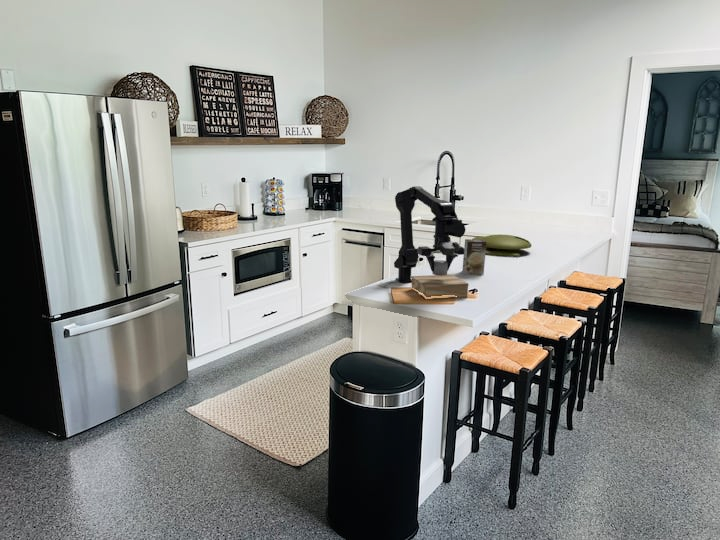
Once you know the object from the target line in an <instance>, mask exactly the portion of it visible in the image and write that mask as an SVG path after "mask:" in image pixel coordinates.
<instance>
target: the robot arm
mask: <svg viewBox="0 0 720 540" xmlns="http://www.w3.org/2000/svg"><path fill="white" fill-rule="evenodd" d="M417 200H418V201H420V203H423V204H424V205H425V206H427V207H428V208H430V211H431V213H432V214H433V215H434V217H433V218H432V219H431V221H432V222H435V223H434V224H435V225H434V226H435V227H434V234H433V239H434V240H433V243H434V244H432V248H431V247H429V246H418V247H417V248H416V247H415V245H414V234H413V218H412V216H413V215H412V211H413V210H414V208H415V205H416V204H415V202H416V201H417ZM394 201H395V207H396V208H397V210H398V212H399V215H400V216H399V217H400V218H399V219H400V220H399V221H400V234H401V235H400V236H401V237H400V238H401V246H400V248H399V250H398V257H397V258H396V259H395V261H394V262H393V266H394V268H395V269H398V272H397V273H398V274H397V276H398V277H396V278H395V280H396V281H397V282H399V283H401V282H402V283H410V282H409V281H412V278H411V276H412V268H416V266H417V264H418V261H419V255H420V256H422V257H426V260H427V263H428V264H429V268H430V271H431V273H432V272H433V271H434V261H435V259H436V256H435V254H442V255H443V256H445V261H447V262H448V268H447V272H448V271H449V269H450V267H451V265H452V262H453V261H454V259H456V258H457V257H459V255H463V256H464V254H465V249H464V247H463V246H461V245H460V243H459V242H458V241H456V242H455V241H454V242H452V241H451V237H455V238H462V237H463V236H464V235H465V234H466V226H465V224H464V223H463V220H462V219H459V217H458V215H457V213H456V211H455V208H454V205H453V203H452V202H450V201H447V200H445V199H440V198H437V197H436V196H434V195H433V194H431V193H430V192H429V191H427V190H426V189H424V188H423V187H422V186H418V185H417V186H412V187H409V188H407V189H405V190H403V191H398V192H397V193H396V194H395V196H394Z"/></svg>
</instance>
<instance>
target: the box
mask: <svg viewBox="0 0 720 540" xmlns="http://www.w3.org/2000/svg"><path fill="white" fill-rule="evenodd" d="M411 279H412V282H411V287H412V288H414V289H416V290H418V291H419V292H421V293H423V294H424V295H425V296H426V297H431V296H442V295H455V296H457V298H456V299H460V298H468V291H469V285H461V286H442V287H425V286H423V285H422V284H420V283H419V282H417V281H416V280H414V279H413V278H411Z"/></svg>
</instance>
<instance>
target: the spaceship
mask: <svg viewBox="0 0 720 540" xmlns="http://www.w3.org/2000/svg"><path fill="white" fill-rule="evenodd" d="M472 239H473V240H484V241H486V253H485V256H494V255H496V256H497V257H507V256H513V257H512V258H519V257H521V253H518V252H514V251H513V252H511V251H510V252H509V251H499V250H498V251H497V250H488V249H490V248H491V249H503V250H526V249H530V248H531V247H532V243H531V241H529V240H528V239H526V238H523V237H521V236H515V235H510V234H490V235H486V236H485V235H482V236H481V235H477V236H475V237H473V238H472ZM518 256H519V257H518Z"/></svg>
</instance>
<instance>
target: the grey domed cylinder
mask: <svg viewBox="0 0 720 540" xmlns="http://www.w3.org/2000/svg"><path fill="white" fill-rule="evenodd" d="M447 268H448V262H447V261H446V260H441V259H440V260H439V259H438V260H435V259H434V271H433V272H432V271H431V273H432V275H440V276H443V275H448V271H447Z"/></svg>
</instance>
